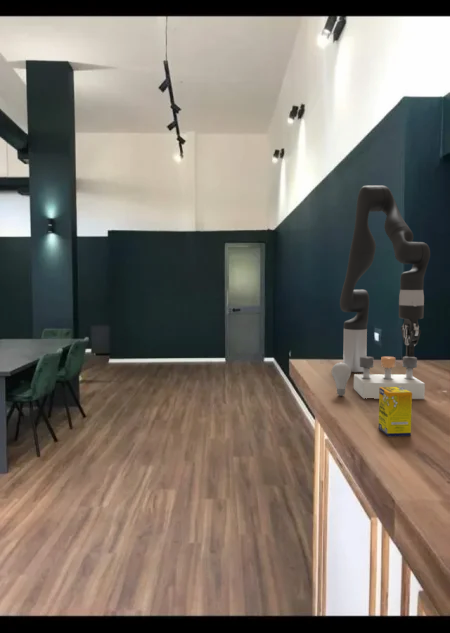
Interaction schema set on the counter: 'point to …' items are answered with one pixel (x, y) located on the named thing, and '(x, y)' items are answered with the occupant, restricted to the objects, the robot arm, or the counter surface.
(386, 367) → the middle terracotta knob
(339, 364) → the lightbulb
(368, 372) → the charcoal knob
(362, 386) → the mounting board
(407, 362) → the charcoal knob
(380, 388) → the supplement box
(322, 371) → the counter surface
